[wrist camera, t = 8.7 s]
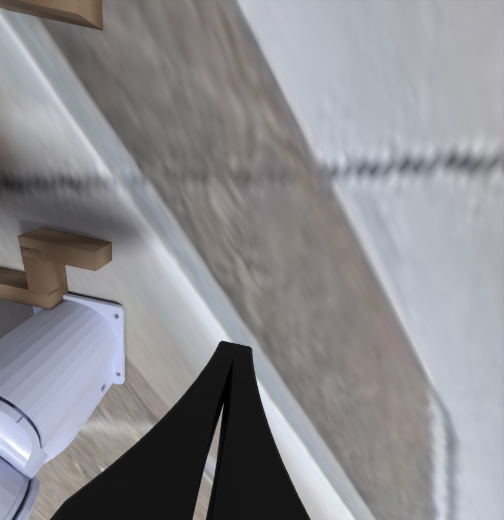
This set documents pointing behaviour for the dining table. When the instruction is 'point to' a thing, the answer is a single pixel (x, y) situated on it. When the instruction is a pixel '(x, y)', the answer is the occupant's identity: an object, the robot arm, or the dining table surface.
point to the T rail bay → (45, 240)
